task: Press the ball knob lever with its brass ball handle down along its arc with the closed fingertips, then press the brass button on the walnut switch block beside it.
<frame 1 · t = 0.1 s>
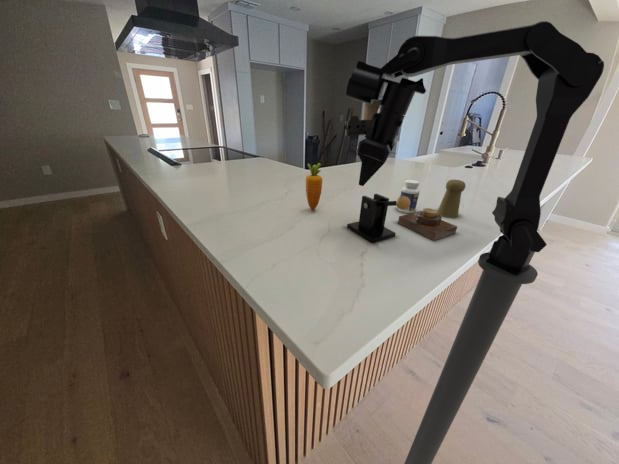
hand: (364, 180, 61), 14 cm above the table, tool pointing down, fingers open, 9 cm apart
button: (429, 213, 69), point 4 cm above the table, slide at 0.1 cm
cork: (447, 214, 82), on the table
switch block: (425, 228, 71), on the table
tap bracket: (370, 232, 68), on the table
carrot: (312, 211, 80), on the table
pill bottle: (406, 211, 83), on the table
ball knob lever: (388, 203, 60), point 10 cm above the table, hinge at 20.0°
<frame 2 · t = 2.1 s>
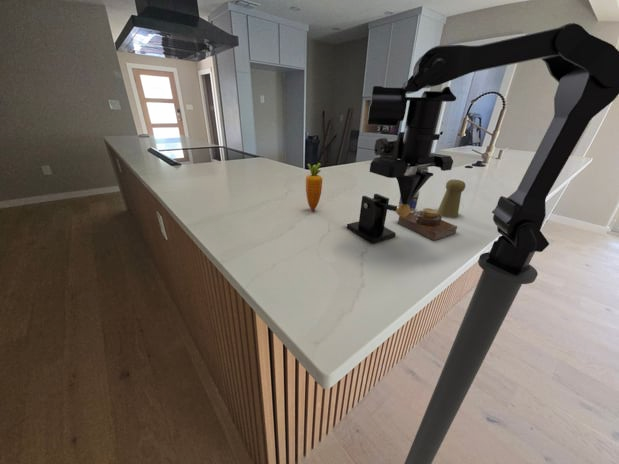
hand: (404, 203, 56), 11 cm above the table, tool pointing down, fingers closed
ball knob lever: (388, 206, 60), point 9 cm above the table, hinge at 9.6°
everything else where it was.
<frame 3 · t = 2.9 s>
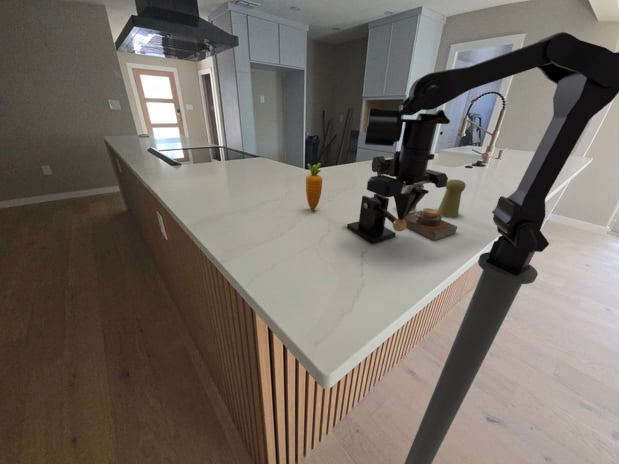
hand: (401, 219, 58), 7 cm above the table, tool pointing down, fingers closed, pressing on ball knob lever
ball knob lever: (386, 214, 61), point 7 cm above the table, hinge at -14.2°, touching gripper
everything else where it was.
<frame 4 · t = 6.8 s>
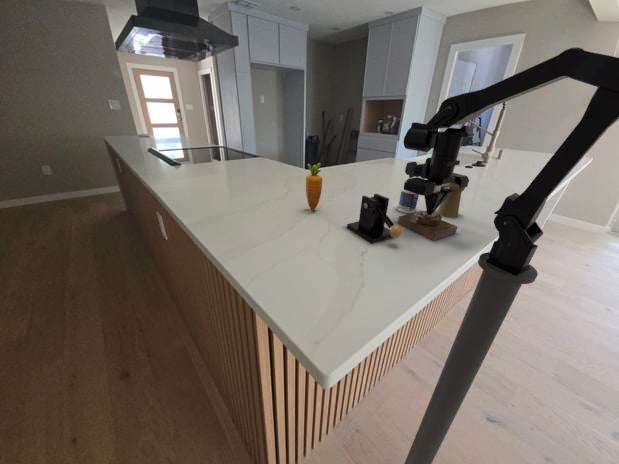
hand: (429, 213, 69), 4 cm above the table, tool pointing down, fingers closed, pressing on button
button: (428, 216, 70), point 4 cm above the table, slide at -0.9 cm, touching gripper
ball knob lever: (384, 217, 62), point 6 cm above the table, hinge at -27.6°
everything else where it was.
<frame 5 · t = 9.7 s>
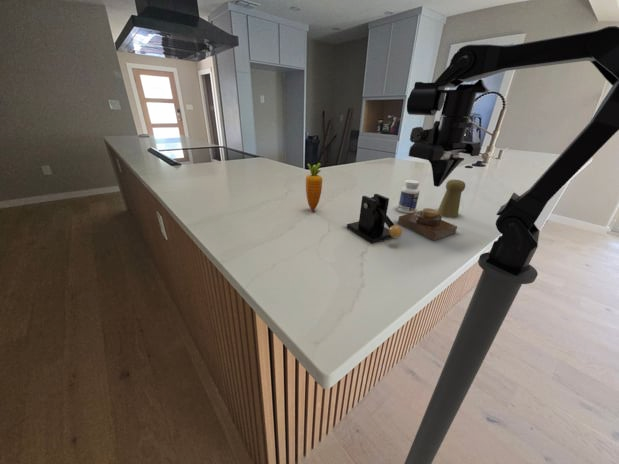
hand: (436, 186, 63), 13 cm above the table, tool pointing down, fingers closed
button: (429, 213, 69), point 4 cm above the table, slide at 0.1 cm
everything else where it was.
at the end: ball knob lever at -28° (first picture: +20°); button pushed in 1.1 cm at the most during the clip, back to where it started at the end; button slide at 0.1 cm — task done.
